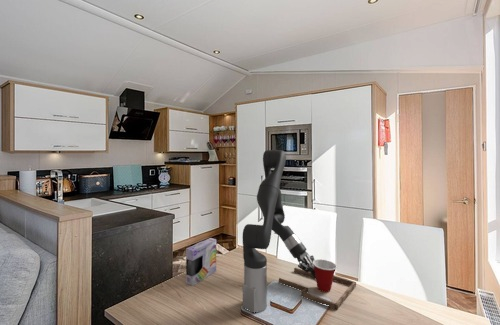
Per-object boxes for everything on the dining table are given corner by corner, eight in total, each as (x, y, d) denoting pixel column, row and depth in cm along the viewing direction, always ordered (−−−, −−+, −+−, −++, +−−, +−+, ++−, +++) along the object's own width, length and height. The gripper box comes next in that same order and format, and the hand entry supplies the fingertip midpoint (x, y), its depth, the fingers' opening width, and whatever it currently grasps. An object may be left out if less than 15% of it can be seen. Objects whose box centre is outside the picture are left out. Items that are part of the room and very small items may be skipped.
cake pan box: (191, 287, 120) (191, 250, 120) (183, 284, 123) (183, 248, 122) (217, 271, 137) (217, 238, 136) (210, 269, 139) (209, 237, 139)
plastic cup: (340, 295, 113) (340, 268, 113) (315, 295, 113) (315, 268, 113) (332, 283, 124) (332, 258, 124) (310, 283, 124) (310, 258, 124)
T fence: (336, 310, 102) (337, 305, 102) (274, 286, 121) (274, 281, 121) (355, 286, 121) (356, 282, 121) (298, 268, 140) (298, 265, 140)
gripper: (292, 245, 121) (317, 279, 113) (305, 238, 131) (329, 268, 124) (283, 254, 124) (306, 287, 117) (296, 246, 135) (318, 276, 127)
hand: (318, 277), depth 120 cm, fingers closed
